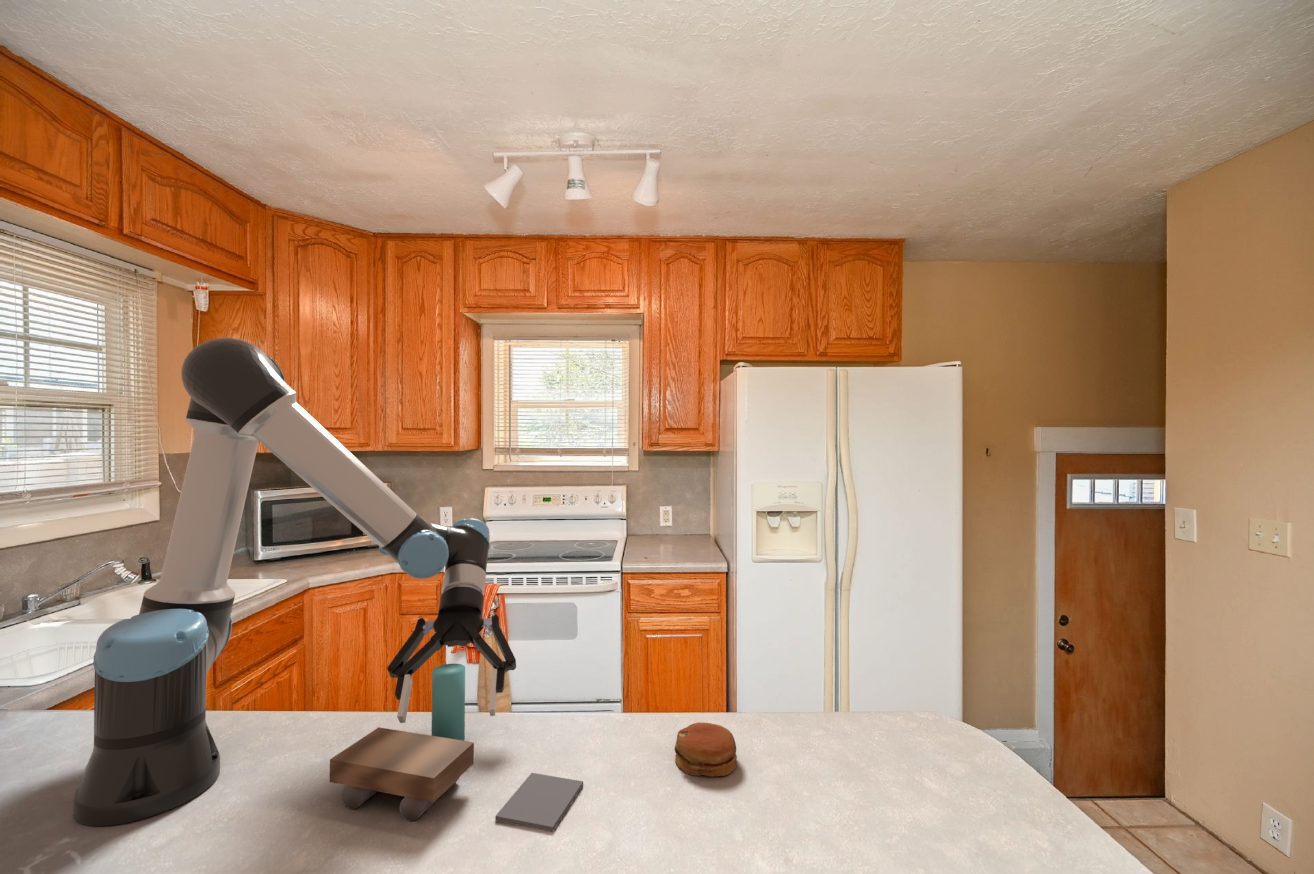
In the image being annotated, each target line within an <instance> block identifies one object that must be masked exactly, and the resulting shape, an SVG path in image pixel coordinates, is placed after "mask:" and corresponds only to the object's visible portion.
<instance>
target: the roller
mask: <svg viewBox="0 0 1314 874" xmlns="http://www.w3.org/2000/svg"><path fill="white" fill-rule="evenodd" d="M465 711H466V667H465V665H464V664H461V663H447V664H442V665H438V666H436V667H434V668H433V669H432V671H431V734H430V736H437V737H443V738H449V739H456V740H462V741H466V739H465V736H466V735H465V733H466V732H465V731H466V730H465V727H466V724H465V723H466V721H465V720H466V719H465V718H466V717H465V716H466V714H465V713H466V712H465Z"/></svg>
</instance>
